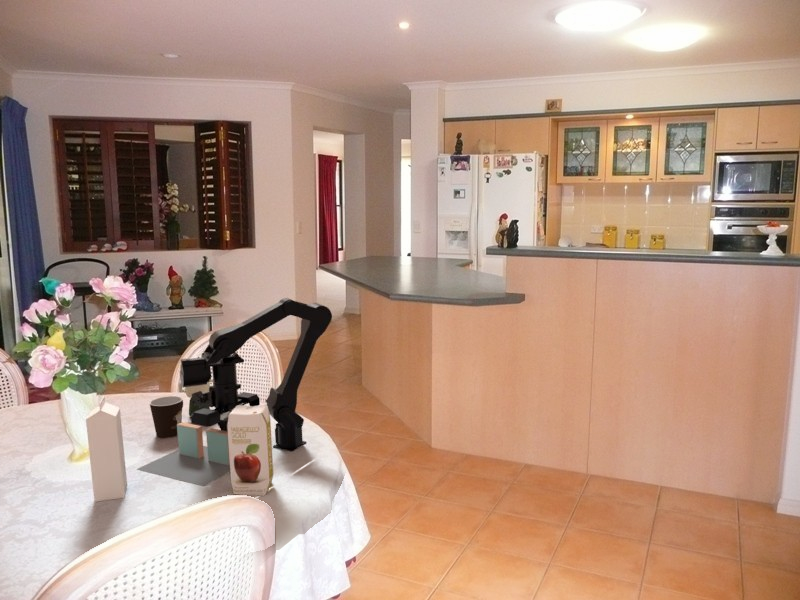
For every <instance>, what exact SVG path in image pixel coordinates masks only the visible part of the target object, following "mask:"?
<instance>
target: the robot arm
mask: <svg viewBox="0 0 800 600" xmlns="http://www.w3.org/2000/svg"><path fill="white" fill-rule="evenodd" d="M289 316H292V317H296V318H300V319H301V320H300V335H299V337H298V340H297V342H296V345H295V347H294V350H293V353H292V355H291V358H290V360H289V363H288V366H287V368H286V370H285V373H284V375H283V377H282V380H281V383H280V384H279V385H278V386H277V388H274V387H271V388H270V390H269V394H268V396H267V399H265V403H266V405H267V406H268V410H269V414H270V417H272V419H274V420H275V421H276V422H277V423H275V429H274V435H275V436H274V437H275V438H274V439H275V440H274V441H275V444H274V445H272V449H273V448H274V449H277V450H283V451H288V452H294V451H295V450H297V449H299V448H301V447H303V446H304V445H306V444H307V441H305V440H304V439H303V425H304V423H305V419H304V418H303V417H302V416H301V415H300V414H299V413H297V412H296V410H297V404H298V390H299V387H300V384H301V382H302V379H303V377H304V375H305V371H306V370H307V367H308V365H309V362H310V358H311V356H312V354H313V351H314V349H315V346H316V345H317V342H318V340H319V338H320V337H321V336H322V335H323V334H324V333H325V332H326V330H327V328H328V327H329V325H330V324H331V322H332V319H333V314H332V312H331V310H330V308H329V307H327V306H325V305H324V304H320V303H318V302H311V303H304V302H300V301H298V300H297V301H296V300H293V299H291V298H288V297H283V298H282V299H280V300H279V301H278V302H276V303H274V304H273V305H271V306H269V307H267V308H265V309H264V310H262V311H260V312H258V313H257V314H255V315H253V316H251V317H249V318H248V319H246V320H244V321H242V322H240V323H238V324H237V323H236V324H233V325H229V326H226V327H223V328H221V329H218V330H216V331H214V332H212V333H211V334H210V336H209V339H208V345H207V346H206V348H205V349H204V350H203V352H202V353H201V357H195V358H181V359H180V365H179V366H180V367H179V368H180V370H179V378H180V379H179V380H180V382H181V385H182V389H185V387H191V386H198V385H205V384H207V382H209V380H211V379H213V382H212V385H210V388H209V391H208V392H206V393H202V392H201V391H199V392H196V393H193V394H192V403H193V405H194V406H197V405H198V406H199V408H201V407H202V406H205V405H208V404H209V407H210V409H206V408H203V409H200V410H198V411H195V412H193V414H192V415H191V416H190V421H191V423H190V424H193V425H198V426H202V427H205V428H206V427H208V428H209V427H210V428H211V427H213V426H214V425H217V426H218V428H219V430H223V431H228V427H227V425H228V418H229V414H230V413H231V412H232V410H233V409H234V408H235V407H236V406H237V405H245V406H246V405H247V404H249V405H248V406H258V405H261V404H260V397H259V395H258V394H257V393H250V392H245V391H243V392H240V393H239V392H238V390H239V389H242V384H240V383H238V377H237V375H238V374H237V364H241V363H244V362H245V359H243V358H242V357H241V356H240V355H239V354H238V352H237V351H238V350H240V349H241V348H242V347H243V346H244V345H245V344H246V343H247V341H248V340H250V339H251V338H253V337H254V336H256V335H258V334H259V333H261V332H263V331H265V330H266V329H268V328H270V327H272V326H273V325H275V324H277V323H278V322H281V321H282V320H284V319H285V318H287V317H289ZM211 408H214V409H211Z"/></svg>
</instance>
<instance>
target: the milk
mask: <svg viewBox="0 0 800 600" xmlns="http://www.w3.org/2000/svg"><path fill="white" fill-rule="evenodd" d="M121 416H122V415H121V408H120V407H118V406H117V405H114V404H111V403H108V402H106V398H105V396H103V397H102V399H101V400H100V402H99V405H98V406H96V407H95V408H93V409H92V410H90V412H89V413H88V415H87V417H86V418H85V423H86V424H85V425H86V434H87V442H88V443H87V444H88V452H89V462H90V472H91V481H92V492H93V501H94V503H96V502H103V501H110V500H116V499H117V500H119V499H123V498H125V494H126V491H127V487H128V480H127V471H126V470H127V469H126V461H125V459H126V458H125V448H124V439H123V427H122V418H121Z"/></svg>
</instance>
